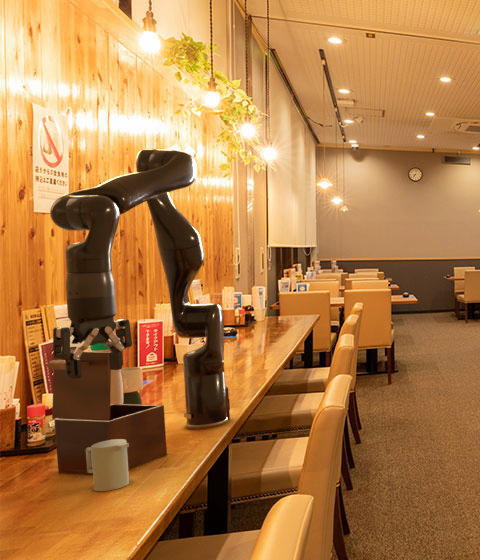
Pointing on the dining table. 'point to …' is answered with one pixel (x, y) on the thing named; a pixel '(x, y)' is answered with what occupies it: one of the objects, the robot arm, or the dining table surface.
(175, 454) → the dining table surface
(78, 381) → the lid
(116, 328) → the robot arm
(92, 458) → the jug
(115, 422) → the chest
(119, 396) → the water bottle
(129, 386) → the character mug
